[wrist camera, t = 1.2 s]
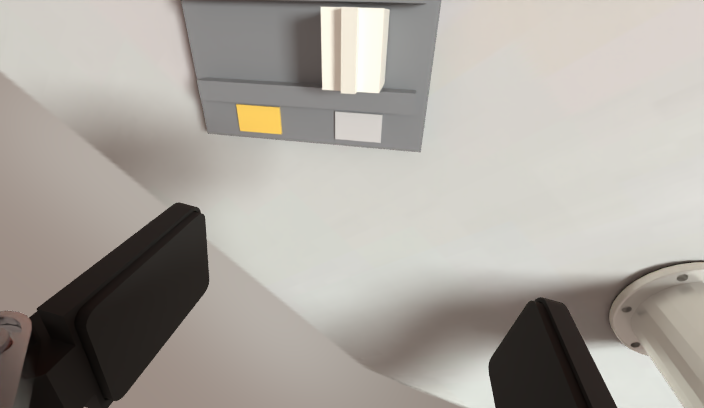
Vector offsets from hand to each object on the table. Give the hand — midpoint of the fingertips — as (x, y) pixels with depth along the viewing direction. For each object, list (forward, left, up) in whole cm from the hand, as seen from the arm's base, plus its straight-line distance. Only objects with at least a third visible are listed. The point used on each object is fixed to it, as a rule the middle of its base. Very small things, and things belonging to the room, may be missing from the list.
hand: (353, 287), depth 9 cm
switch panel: (+8, -5, -22) cm, 24 cm away
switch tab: (+3, -5, -20) cm, 21 cm away
